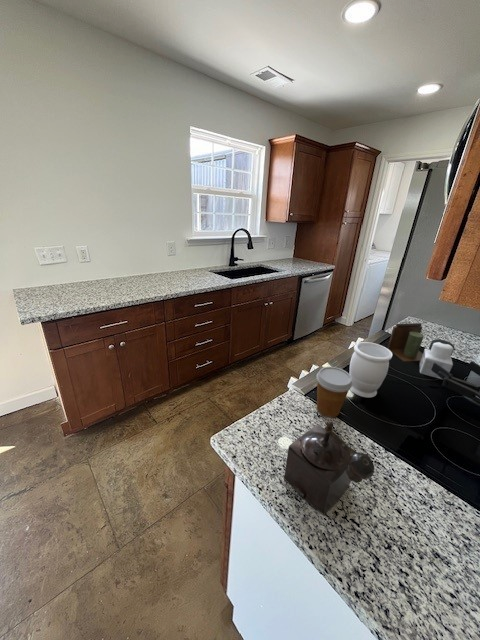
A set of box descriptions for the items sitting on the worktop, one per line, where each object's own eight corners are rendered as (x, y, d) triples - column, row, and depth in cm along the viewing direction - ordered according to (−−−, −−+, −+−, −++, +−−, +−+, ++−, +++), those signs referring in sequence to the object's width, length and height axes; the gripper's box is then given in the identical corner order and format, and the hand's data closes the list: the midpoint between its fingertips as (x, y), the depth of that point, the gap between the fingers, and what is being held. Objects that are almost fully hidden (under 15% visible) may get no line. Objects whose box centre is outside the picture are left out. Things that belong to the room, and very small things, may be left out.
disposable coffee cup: (307, 414, 75) (313, 379, 70) (314, 394, 83) (320, 362, 78) (343, 426, 71) (352, 390, 66) (346, 404, 79) (355, 371, 74)
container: (418, 365, 100) (429, 335, 95) (443, 372, 97) (456, 340, 91) (418, 375, 94) (430, 343, 89) (445, 383, 90) (459, 350, 85)
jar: (384, 389, 86) (396, 349, 80) (374, 405, 79) (387, 363, 73) (351, 376, 93) (361, 338, 87) (339, 389, 85) (348, 349, 79)
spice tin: (413, 352, 107) (420, 332, 103) (418, 358, 103) (426, 337, 99) (401, 350, 108) (407, 330, 104) (405, 356, 103) (412, 336, 100)
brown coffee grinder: (280, 478, 57) (289, 414, 50) (311, 451, 64) (323, 391, 56) (345, 544, 46) (369, 475, 39) (375, 503, 53) (400, 438, 46)
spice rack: (412, 349, 112) (421, 322, 107) (431, 362, 102) (442, 334, 97) (386, 350, 110) (394, 323, 105) (402, 363, 101) (412, 335, 96)
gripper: (473, 426, 68) (414, 377, 87) (555, 419, 71) (480, 373, 90) (485, 403, 65) (421, 357, 84) (570, 397, 68) (489, 354, 87)
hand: (451, 365), depth 87 cm, fingers open, 13 cm apart
